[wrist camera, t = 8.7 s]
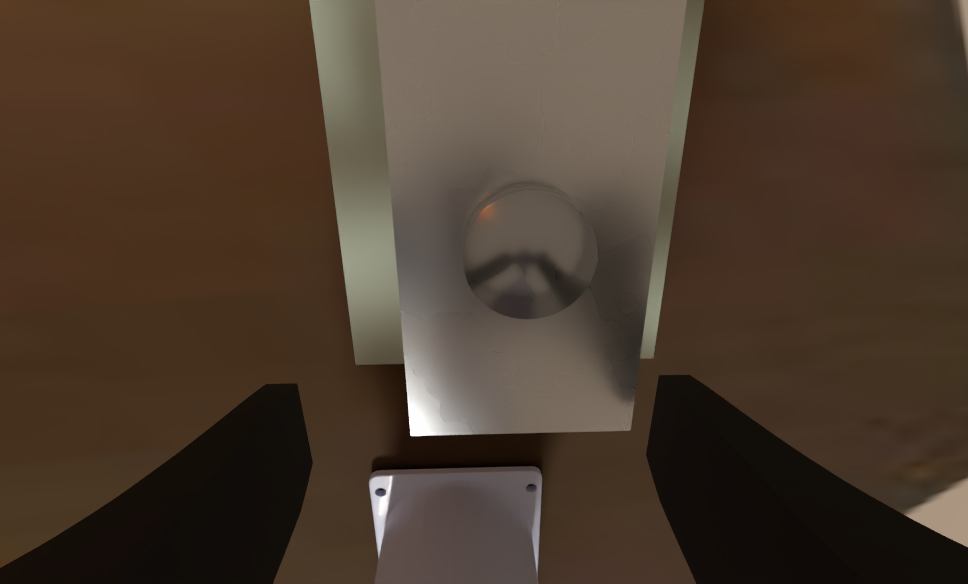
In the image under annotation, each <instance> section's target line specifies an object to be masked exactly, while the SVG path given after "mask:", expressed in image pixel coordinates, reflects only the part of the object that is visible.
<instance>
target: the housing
mask: <svg viewBox="0 0 968 584" xmlns="http://www.w3.org/2000/svg"><path fill="white" fill-rule="evenodd" d="M686 4H687V0H375V10H376V23H377V35H378V47H379V59H380V71H381V83H382V95H383V107H384V119H385V132H386V144H387V156H388V168H389V180H390V192H391V204H392V216H393V228H394V241H395V253H396V265H397V277H398V289H399V301H400V313H401V325H402V337H403V350H404V362H405V374H406V386H407V398H408V410H409V422H410V434H411V436H432V435H472V434H511V433H551V432H591V431H630V430H631V423H632V415H633V408H634V400H635V392H636V385H637V377H638V370H639V362H640V354H641V347H642V339H643V331H644V324H645V316H646V309H647V301H648V293H649V286H650V278H651V271H652V263H653V255H654V248H655V240H656V232H657V225H658V217H659V210H660V202H661V194H662V187H663V179H664V171H665V164H666V156H667V149H668V141H669V133H670V126H671V118H672V111H673V103H674V95H675V88H676V80H677V72H678V65H679V57H680V50H681V42H682V34H683V27H684V19H685V11H686Z"/></svg>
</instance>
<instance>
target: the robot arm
mask: <svg viewBox="0 0 968 584" xmlns="http://www.w3.org/2000/svg"><path fill="white" fill-rule="evenodd" d="M646 456H647V459H648V463H649V466H650V470H651V473H652V477H653V480H654V483H655V487H656V490H657V493H658V496H659V499H660V502H661V505H662V507H663V509H664V512H665V514H666V516H667V519H668V521H669V523H670V525H671V528H672V530H673V532H674V534H675V537H676V539H677V541H678V544H679V546H680V548H681V550H682V552H683V555H684V557H685V559H686V561H687V564H688V566H689V568H690V570H691V572H692V575H693V577H694V579H695V581H696V584H968V547H966V546H964V545H962V544H960V543H957V542H955V541H953V540H951V539H949V538H947V537H945V536H943V535H941V534H939V533H937V532H935V531H933V530H931V529H930V528H928V527H926V526H924V525H922V524H920V523H918V522H916V521H914V520H912V519H910V518H909V517H907V516H905V515H903V514H901V513H900V512H898V511H896V510H894V509H893V508H891V507H889V506H887V505H885V504H884V503H882V502H880V501H878V500H876V499H875V498H873V497H871V496H869V495H868V494H866V493H864V492H862V491H861V490H859V489H857V488H856V487H854V486H852V485H851V484H849V483H847V482H845V481H844V480H842V479H841V478H839V477H837V476H836V475H834V474H833V473H831V472H830V471H828V470H826V469H825V468H823V467H822V466H820V465H819V464H817V463H815V462H814V461H812V460H811V459H809V458H808V457H806V456H805V455H803V454H802V453H800V452H799V451H797V450H796V449H794V448H793V447H791V446H790V445H788V444H787V443H785V442H784V441H782V440H781V439H779V438H778V437H777V436H775V435H774V434H772V433H771V432H769V431H768V430H767V429H765V428H764V427H762V426H761V425H759V424H758V423H757V422H755V421H754V420H752V419H751V418H750V417H748V416H747V415H746V414H744V413H743V412H741V411H740V410H739V409H737V408H736V407H735V406H733V405H732V404H730V403H729V402H728V401H726V400H725V399H724V398H722V397H721V396H719V395H718V394H717V393H715V392H714V391H712V390H711V389H710V388H708V387H707V386H705V385H704V384H703V383H701V382H700V381H698V380H697V379H695V378H693V377H692V376H690V375H661V376H659V379H658V385H657V391H656V397H655V404H654V410H653V416H652V422H651V428H650V434H649V440H648V446H647V452H646ZM312 464H313V462H312V457H311V452H310V447H309V442H308V436H307V431H306V426H305V421H304V416H303V411H302V406H301V401H300V396H299V391H298V386H297V384H266V385H264V386H263V387H262V388H260V389H259V390H257V391H256V392H255V393H253V394H252V395H251V396H250V397H248V398H247V399H246V400H244V401H243V402H242V403H241V404H239V405H238V406H237V407H236V408H234V409H233V410H232V411H231V412H229V413H228V414H227V415H226V416H225V417H223V418H222V419H221V420H220V421H218V422H217V423H216V424H214V425H213V426H212V427H211V428H209V429H208V430H207V431H206V432H204V433H203V434H202V435H201V436H199V437H198V438H197V439H195V440H194V441H193V442H192V443H190V444H189V445H188V446H187V447H185V448H184V449H183V450H181V451H180V452H179V453H177V454H176V455H175V456H173V457H172V458H171V459H169V460H168V461H166V462H165V463H164V464H162V465H161V466H160V467H158V468H157V469H155V470H154V471H153V472H151V473H150V474H149V475H147V476H146V477H144V478H143V479H142V480H140V481H139V482H138V483H136V484H135V485H133V486H132V487H131V488H129V489H128V490H127V491H125V492H124V493H122V494H121V495H119V496H118V497H116V498H115V499H113V500H112V501H111V502H109V503H108V504H106V505H104V506H103V507H101V508H100V509H98V510H97V511H95V512H94V513H92V514H91V515H89V516H88V517H86V518H84V519H83V520H81V521H80V522H78V523H76V524H75V525H73V526H72V527H70V528H68V529H67V530H65V531H64V532H62V533H60V534H59V535H57V536H56V537H54V538H52V539H51V540H49V541H47V542H46V543H44V544H42V545H41V546H39V547H37V548H35V549H34V550H32V551H30V552H28V553H26V554H25V555H23V556H21V557H19V558H18V559H16V560H14V561H12V562H10V563H9V564H7V565H5V566H3V567H2V568H0V584H273V582H274V579H275V577H276V574H277V571H278V569H279V566H280V564H281V561H282V559H283V556H284V554H285V551H286V549H287V546H288V543H289V541H290V538H291V536H292V533H293V530H294V528H295V525H296V522H297V520H298V517H299V514H300V512H301V508H302V504H303V501H304V497H305V493H306V489H307V485H308V481H309V476H310V472H311V468H312ZM528 484H534V485H533V486H527V485H528ZM369 488H370V495H371V503H372V511H373V519H374V526H375V534H376V542H377V549H378V557H379V561H378V566H377V572H376V577H375V583H374V584H538V556H539V535H540V514H541V493H542V475H541V471H540V470H539V468H537V467H533V466H519V467H482V468H445V469H407V470H378V471H375V472H373V473H372V474H371V476H370V480H369ZM378 488H383V489H385V490H379V489H378Z"/></svg>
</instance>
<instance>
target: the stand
mask: <svg viewBox="0 0 968 584" xmlns="http://www.w3.org/2000/svg"><path fill="white" fill-rule="evenodd" d="M309 2H310V10H311V17H312V25H313V33H314V41H315V49H316V57H317V65H318V72H319V80H320V88H321V96H322V104H323V112H324V119H325V127H326V135H327V143H328V151H329V159H330V167H331V174H332V182H333V190H334V198H335V206H336V214H337V222H338V229H339V237H340V245H341V253H342V261H343V269H344V276H345V284H346V292H347V300H348V308H349V316H350V324H351V331H352V339H353V347H354V355H355V363H356V365H372V364H405V362H404V350H403V337H402V325H401V313H400V301H399V289H398V277H397V265H396V253H395V241H394V228H393V216H392V204H391V192H390V180H389V168H388V156H387V144H386V132H385V119H384V107H383V95H382V83H381V71H380V59H379V47H378V35H377V23H376V10H375V0H309ZM703 7H704V0H687V4H686V11H685V19H684V27H683V34H682V42H681V50H680V57H679V65H678V72H677V80H676V88H675V95H674V103H673V111H672V118H671V126H670V133H669V141H668V149H667V156H666V164H665V171H664V179H663V187H662V194H661V202H660V210H659V217H658V225H657V232H656V240H655V248H654V255H653V263H652V271H651V278H650V286H649V293H648V301H647V309H646V316H645V324H644V331H643V339H642V347H641V354H640V359H641V358H653V356H654V349H655V343H656V336H657V329H658V322H659V315H660V308H661V301H662V294H663V287H664V280H665V273H666V266H667V259H668V252H669V245H670V238H671V231H672V224H673V217H674V210H675V203H676V196H677V189H678V182H679V175H680V168H681V161H682V154H683V147H684V140H685V133H686V126H687V119H688V112H689V105H690V98H691V91H692V84H693V77H694V70H695V63H696V56H697V49H698V42H699V35H700V28H701V21H702V14H703Z"/></svg>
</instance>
